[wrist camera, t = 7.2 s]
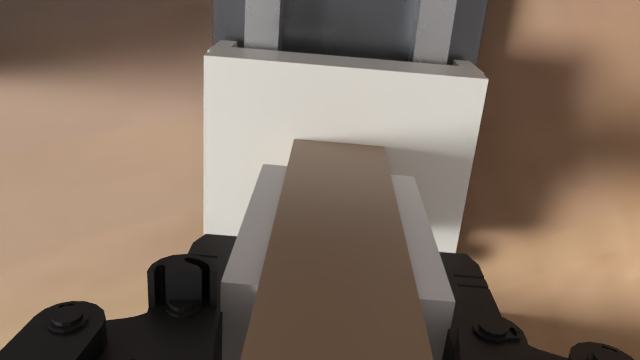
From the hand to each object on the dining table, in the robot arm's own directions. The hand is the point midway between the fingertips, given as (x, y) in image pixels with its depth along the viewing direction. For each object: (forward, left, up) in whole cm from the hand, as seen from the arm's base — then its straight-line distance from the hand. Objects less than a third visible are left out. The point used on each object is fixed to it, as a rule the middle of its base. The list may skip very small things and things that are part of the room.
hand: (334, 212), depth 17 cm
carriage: (0, 0, -6) cm, 6 cm away
